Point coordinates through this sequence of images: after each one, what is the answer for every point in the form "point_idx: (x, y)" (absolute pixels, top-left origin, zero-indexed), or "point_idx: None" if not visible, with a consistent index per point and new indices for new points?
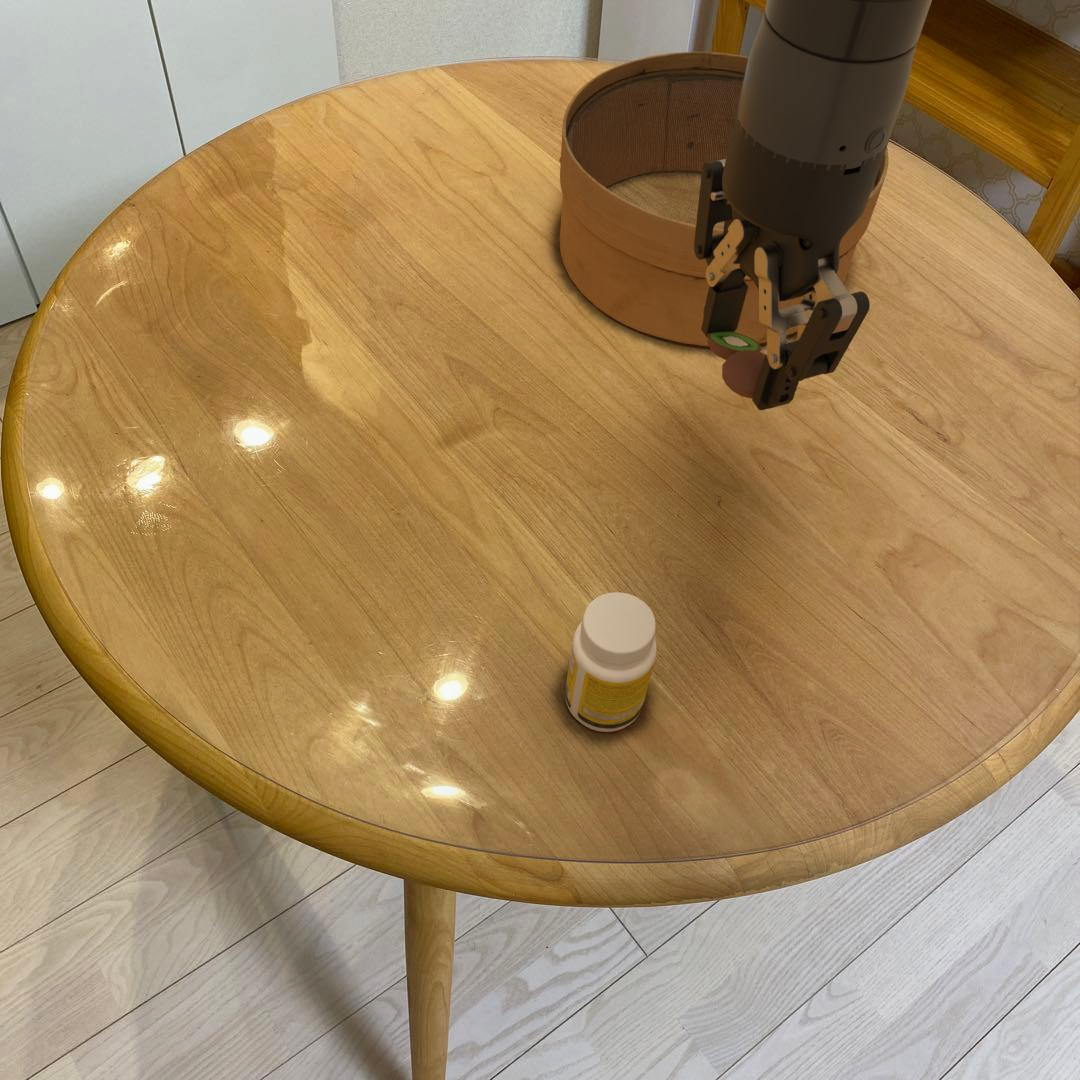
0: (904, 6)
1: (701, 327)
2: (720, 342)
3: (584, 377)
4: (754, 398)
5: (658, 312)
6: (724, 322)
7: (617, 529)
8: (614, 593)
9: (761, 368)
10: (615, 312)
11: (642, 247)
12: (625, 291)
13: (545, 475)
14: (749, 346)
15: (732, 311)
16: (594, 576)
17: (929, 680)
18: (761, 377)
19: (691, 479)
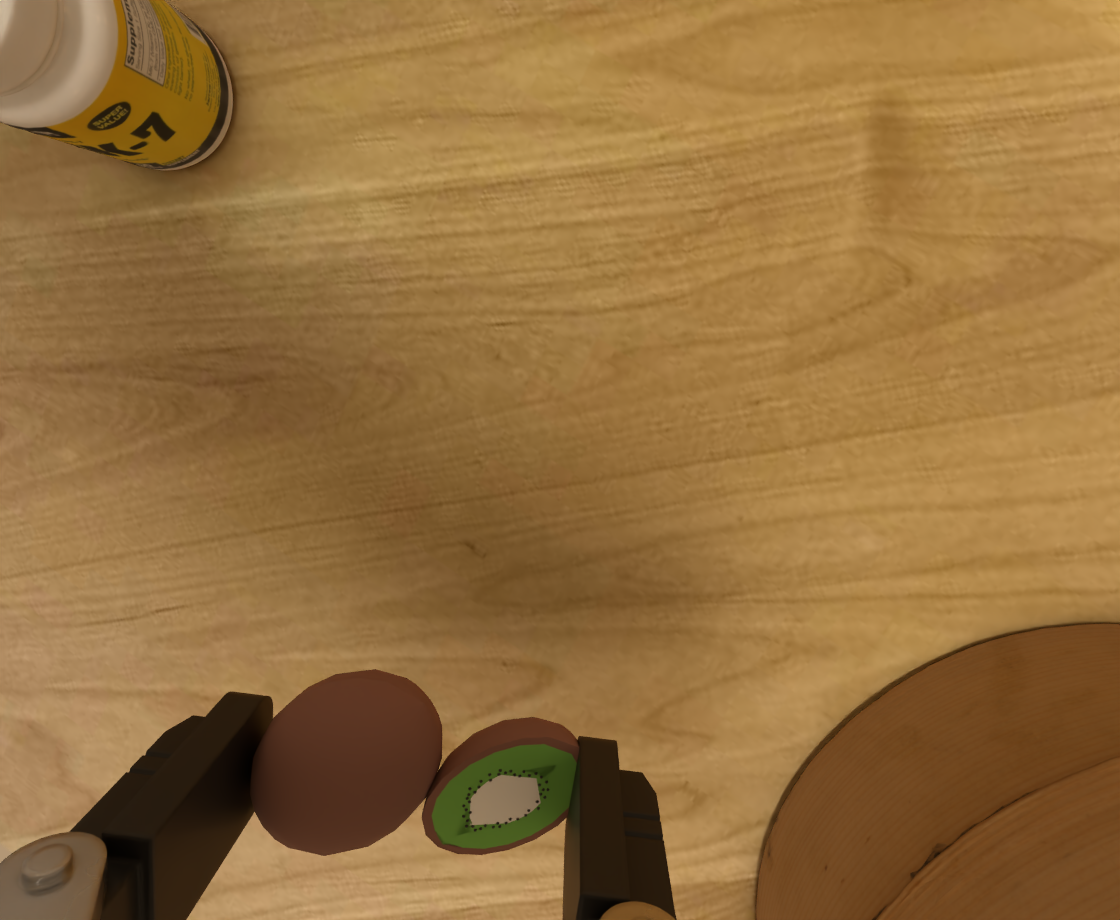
0: None
1: (617, 747)
2: (510, 757)
3: (883, 496)
4: (247, 705)
5: (933, 720)
6: (571, 822)
7: (500, 338)
8: (6, 10)
9: (185, 796)
10: (1002, 649)
11: (1109, 803)
12: (1029, 693)
13: (690, 278)
14: (462, 824)
15: (568, 877)
16: (419, 232)
17: (16, 628)
18: (190, 771)
19: (543, 534)
